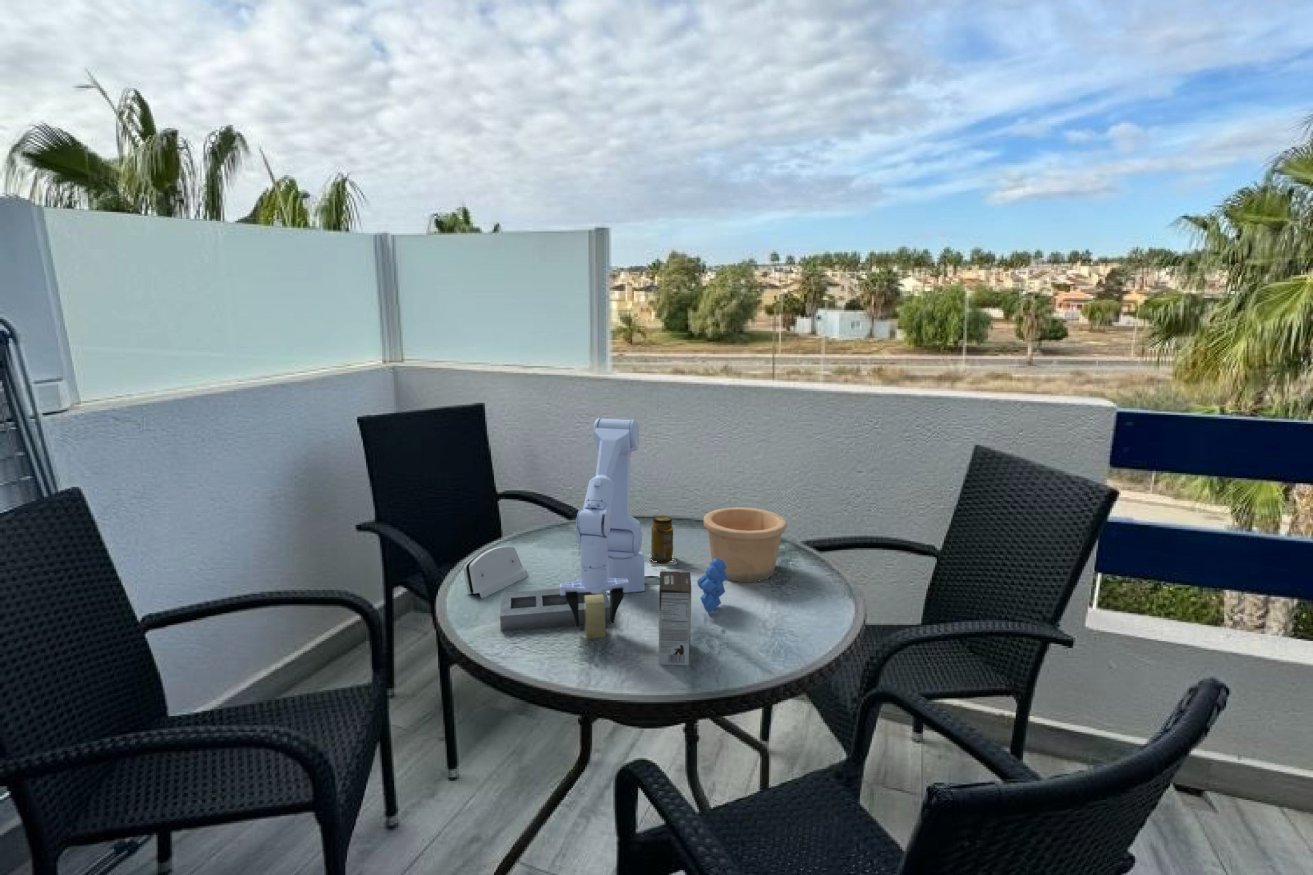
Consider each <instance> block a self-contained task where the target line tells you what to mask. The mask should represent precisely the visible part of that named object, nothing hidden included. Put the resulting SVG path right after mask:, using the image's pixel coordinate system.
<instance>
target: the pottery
mask: <svg viewBox="0 0 1313 875" xmlns="http://www.w3.org/2000/svg"><path fill="white" fill-rule="evenodd" d="M702 522H703V526H704V528H705V529H706V530H707V532H708V541H709V550H710V557H711V558H710V559H711V561H712V560H713V559H715V558H719V559H721V560H723V561H724V562H725V565H726V567H727V568H726V569H725V570H724V571H725V573H726V575H727V579H728V581H731V580H733V582H736V581H738V582H737V583H756V582H755V581H759V580H763V581H765V580H764V579H766V580H768V579H770V578H771V577H773V576H774V574H775V572H774V570H776V565H777V561H778V560H777V559H778V554H779V550H780V549H779V548H780V544H781V538H782V534H785V532H786V529H788V527H787V526H788V522H787V521H786V519H785V517H783V516H782V515H779V514H778V513H776V512H772V511H769V510H766V509H762V508H761V509H760V508H755V507H744V506H743V507H738V506H737V507H736V506H735V507H724V508H719V509H718V508H717V509H714V510H712V511H710V512H707V513H706V514H705V515H704V517H703V521H702ZM773 573H774V574H773ZM772 575H773V576H772ZM770 576H771V577H770ZM769 577H770V578H769ZM767 578H768V579H767ZM727 579H726V580H727ZM759 582H760V581H759Z"/></svg>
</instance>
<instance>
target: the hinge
mask: <svg viewBox="0 0 1313 875" xmlns="http://www.w3.org/2000/svg"><path fill="white" fill-rule="evenodd" d="M462 569H463V575H464V581H465V584H466V585H465V586H466V592H467V594H468V595H471V594H479V596H480V598H481V599H485V598H486V597H488V596H491V595H492V594H495V593H497V592H498V591H501V590H503V589H505V588H507V587H509V586H511V585H513V584H515V583H517V582H519V581H521V580H523V579H525V578H528V577H529V574H528V571H527V569H526V568H525V567H524V566H523V564H522V562H521V559H520V557H519V555H518V551H517V549H516V548H515V547H513V546H497V547H494V548H489V549H486V550H485V551H482V552H480V553H478V554H476V555H475V556H473V557H472V558H471V559H469V560H468V562H467V563H465V564H464V566H463V568H462Z"/></svg>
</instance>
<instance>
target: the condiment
mask: <svg viewBox="0 0 1313 875" xmlns="http://www.w3.org/2000/svg"><path fill="white" fill-rule="evenodd" d="M650 544H651V545H650V546H651V549H650V551H651V552H650V553H649V555H647V554H646V556H650V554H651V556H652V557H651V558H648V557H647V559H648V560H649V559H652V560H653V561H657V562H653V561H652V560H649V561H650V565H652V566H656V567H657V566H660V567H661V566H670V565H678V564H679V562H678V561H677V560H676V558H675V557H674V558H672V555H673V553H674V527H673V519H672V517H671V516H669V515H657V516H654V517H653V519H652V527H651V543H650ZM673 556H674V555H673ZM672 559H674V560H672ZM669 561H673V562H669ZM674 563H675V564H674ZM677 563H678V564H677Z"/></svg>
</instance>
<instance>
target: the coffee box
mask: <svg viewBox="0 0 1313 875" xmlns="http://www.w3.org/2000/svg"><path fill="white" fill-rule="evenodd" d="M691 578H692V577H691V572H689V571H686V572H685V571H676V570H675V571H674V570H673V571H672V570H671V571H669V570H667V571H666V570H665V571H664V570H663V571H662V570H661V571H659V586H658V590H659V591H658V665H661V666H663V665H664V666H665V665H667V666H690V661H691V659H690V658H691V634H692V633H691V629H692V627H691V626H692V622H691V621H692V580H691Z"/></svg>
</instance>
